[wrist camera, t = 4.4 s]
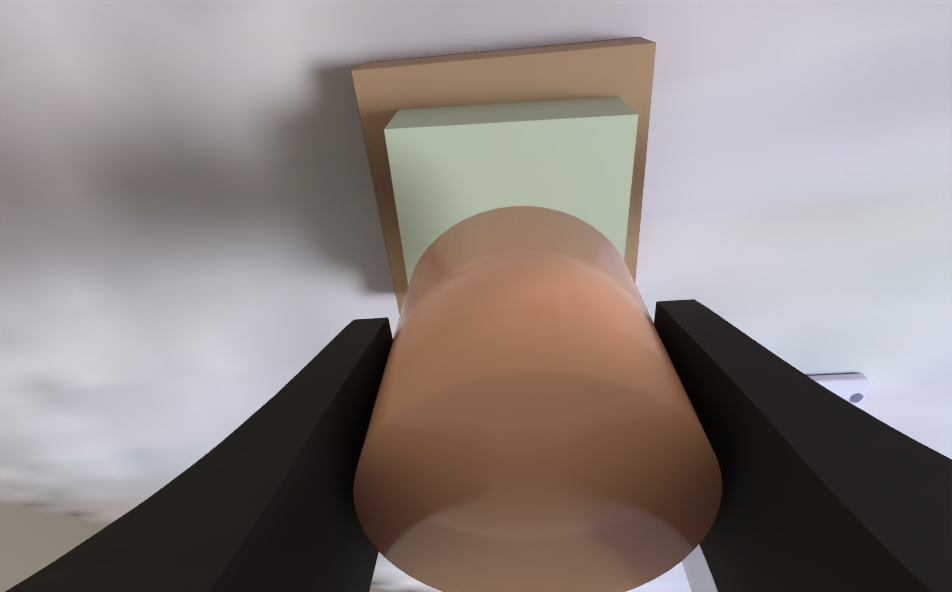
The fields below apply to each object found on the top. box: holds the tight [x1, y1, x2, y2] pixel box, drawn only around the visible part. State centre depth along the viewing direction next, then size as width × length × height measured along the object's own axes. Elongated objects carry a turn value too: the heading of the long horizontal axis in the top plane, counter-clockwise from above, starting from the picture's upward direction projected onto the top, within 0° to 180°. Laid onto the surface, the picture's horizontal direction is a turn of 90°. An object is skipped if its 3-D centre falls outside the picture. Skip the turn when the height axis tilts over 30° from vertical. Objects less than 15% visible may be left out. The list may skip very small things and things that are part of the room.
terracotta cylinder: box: [353, 206, 722, 592], centre depth 8 cm, size 4×4×4 cm
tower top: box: [384, 96, 638, 285], centre depth 15 cm, size 6×6×2 cm
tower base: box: [351, 37, 656, 314], centre depth 16 cm, size 8×8×2 cm
